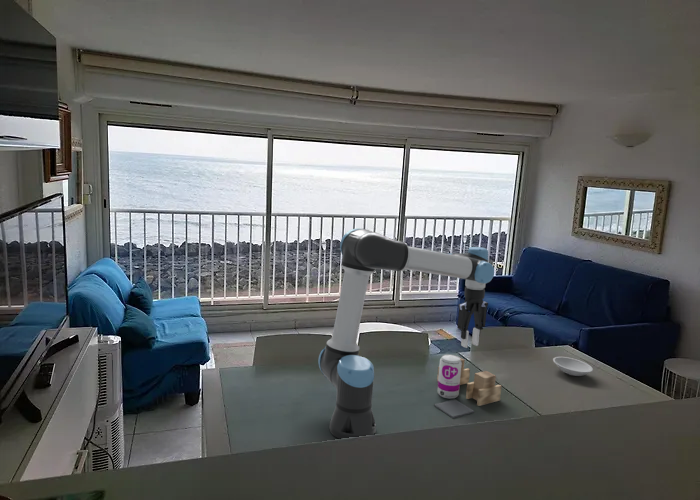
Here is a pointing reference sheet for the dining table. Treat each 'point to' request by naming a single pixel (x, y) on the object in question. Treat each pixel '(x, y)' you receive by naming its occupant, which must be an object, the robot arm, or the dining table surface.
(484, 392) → the rack
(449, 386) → the supplement can
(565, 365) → the dish
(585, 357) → the dining table surface
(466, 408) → the mat
